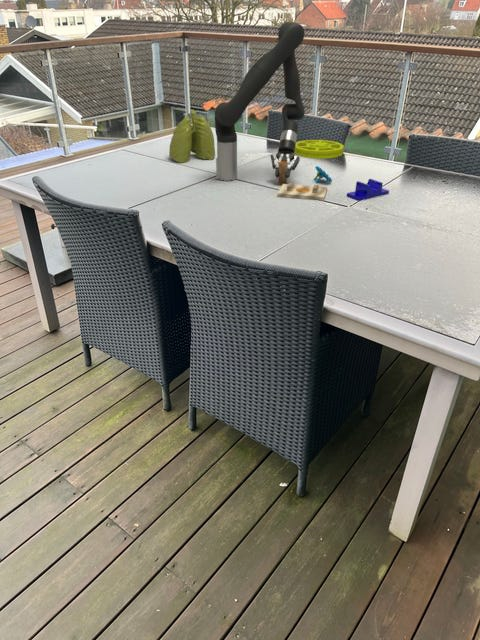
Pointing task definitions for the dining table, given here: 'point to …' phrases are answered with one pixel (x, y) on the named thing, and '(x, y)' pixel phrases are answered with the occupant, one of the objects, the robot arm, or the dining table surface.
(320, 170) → the gear
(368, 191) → the mounting bracket
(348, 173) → the dining table surface
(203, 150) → the lungs
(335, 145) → the pulley
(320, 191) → the plate
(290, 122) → the robot arm
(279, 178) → the pin
